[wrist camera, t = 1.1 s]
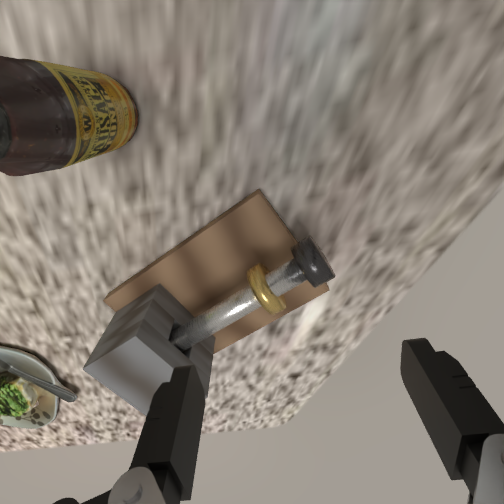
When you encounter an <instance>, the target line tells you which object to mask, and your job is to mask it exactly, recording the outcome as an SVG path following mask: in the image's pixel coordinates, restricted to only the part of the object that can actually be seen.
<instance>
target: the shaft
mask: <svg viewBox="0 0 504 504" xmlns="http://www.w3.org/2000/svg"><path fill="white" fill-rule="evenodd" d="M291 252H292V254H293V257H294V258H293V259H291V260H290V261H288V262H286V263H285V264H283V265H281V266H280V267H278V268H276V269H275V270H273V271H271V272H270V270H269V269H268V268H267V267H266V266H265V265H263V264H261V263H258V264H257V265H255V266H254V267H252V268H250V269H249V270H248V271H247V279H248V282H249V285H248V286H246V287H245V288H243V289H241V290H240V291H238V292H236V293H235V294H233V295H231V296H230V297H228V298H226V299H225V300H223V301H222V302H220V303H218V304H217V305H215V306H213V307H212V308H210V309H208V310H207V311H205V312H203V313H202V314H200V315H198V316H197V317H195V318H193V319H192V320H190V321H188V322H187V323H185V324H183V325H182V326H180V327H178V328H177V329H175V330H173V331H172V332H170V336H169V339H168V341H169V342H170V343H172V344H173V345H174V346H175V347H176V348H177V349H178V350H179V351H181V352H183V351H184V350H186V349H188V348H190V347H191V346H193V345H195V344H197V343H198V342H200V341H202V340H204V339H205V338H207V337H209V336H211V335H212V334H214V333H216V332H218V331H219V330H221V329H223V328H225V327H226V326H228V325H230V324H232V323H233V322H235V321H237V320H239V319H240V318H242V317H244V316H245V315H247V314H249V313H251V312H252V311H254V310H256V309H258V308H259V307H261V306H262V307H263V308H264V309H265V310H266V311H267V312H268V313H269V314H271V315H275V314H277V313H279V312H280V311H282V310H284V309H286V307H287V304H286V299H285V296H284V293H286V292H287V291H289V290H291V289H293V288H294V287H296V286H298V285H300V284H301V283H303V282H305V281H307V280H308V281H309V283H310V284H311V285H312V286H313V287H314V288H317V287H318V286H320V285H322V284H324V283H326V282H327V281H329V280H331V279H333V278H334V277H335V274H334V272H333V270H332V268H331V266H330V264H329V262H328V261H327V259H326V257H325V256H324V254H323V252H322V251H321V249H320V248H319V246H318V245H317V244H316V242H315V241H314V239H313V238H312V237H311V236H308V237H307V238H305V239H303V240H302V241H300V242H299V243H297V244H295V245H294V246H292V247H291Z"/></svg>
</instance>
